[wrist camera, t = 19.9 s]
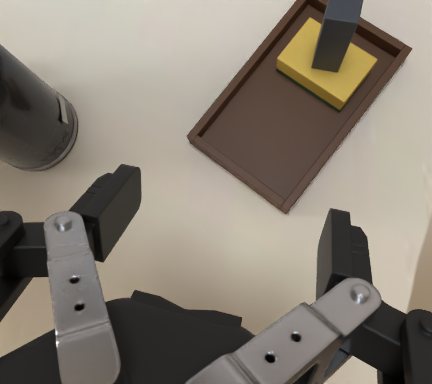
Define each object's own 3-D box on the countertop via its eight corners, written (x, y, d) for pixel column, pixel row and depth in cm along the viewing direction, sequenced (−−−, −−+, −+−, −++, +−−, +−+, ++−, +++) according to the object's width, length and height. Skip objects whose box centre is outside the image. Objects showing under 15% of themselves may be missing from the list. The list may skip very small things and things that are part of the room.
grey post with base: (275, 70, 41) (281, 6, 31) (306, 31, 42) (323, -45, 31) (338, 112, 40) (367, 60, 29) (370, 72, 40) (409, 5, 30)
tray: (189, 142, 42) (186, 136, 39) (305, -2, 43) (308, -15, 41) (285, 214, 39) (287, 211, 37) (405, 59, 41) (412, 48, 39)
